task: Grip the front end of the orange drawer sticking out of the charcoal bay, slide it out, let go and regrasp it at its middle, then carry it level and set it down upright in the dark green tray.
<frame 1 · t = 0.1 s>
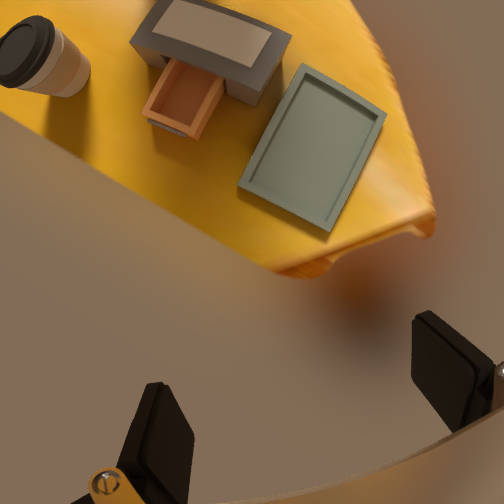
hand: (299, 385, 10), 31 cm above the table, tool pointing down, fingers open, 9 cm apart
orange drawer: (195, 90, 36), on the table
bay housing: (213, 58, 35), on the table
coffee cup: (71, 76, 34), on the table
tray: (313, 146, 38), on the table
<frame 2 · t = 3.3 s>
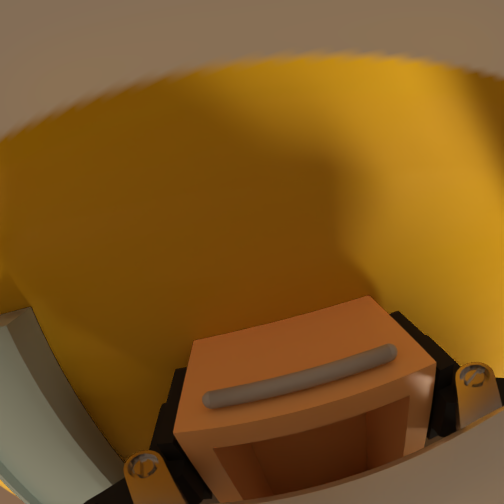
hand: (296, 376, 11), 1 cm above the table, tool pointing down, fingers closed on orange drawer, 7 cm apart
orange drawer: (307, 424, 13), on the table, touching gripper
tray: (37, 446, 13), on the table
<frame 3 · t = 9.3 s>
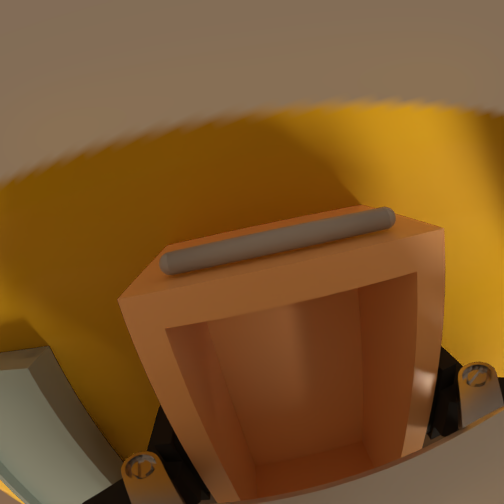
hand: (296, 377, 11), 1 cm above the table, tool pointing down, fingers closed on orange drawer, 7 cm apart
orange drawer: (293, 367, 12), on the table, touching gripper
tray: (53, 465, 14), on the table
when the fingers open (4 cm above the table, at t = 15.8 s): orange drawer drops 1 cm, resting on tray.
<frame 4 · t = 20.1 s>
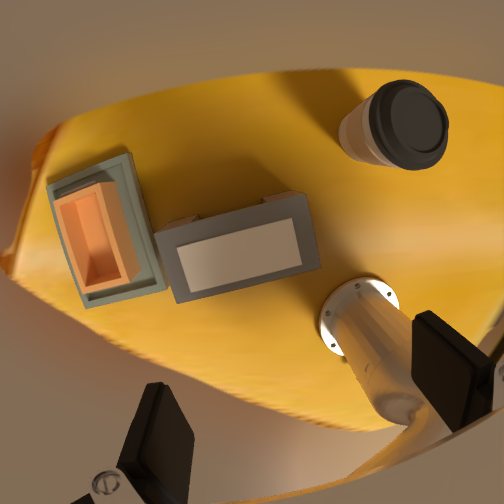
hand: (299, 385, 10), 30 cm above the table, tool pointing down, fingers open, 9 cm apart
orange drawer: (104, 233, 38), point 1 cm above the table, touching tray
bay housing: (238, 236, 40), on the table
coffee cup: (361, 136, 38), on the table
tray: (106, 233, 39), on the table
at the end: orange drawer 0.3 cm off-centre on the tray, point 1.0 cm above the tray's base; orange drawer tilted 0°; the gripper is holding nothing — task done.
